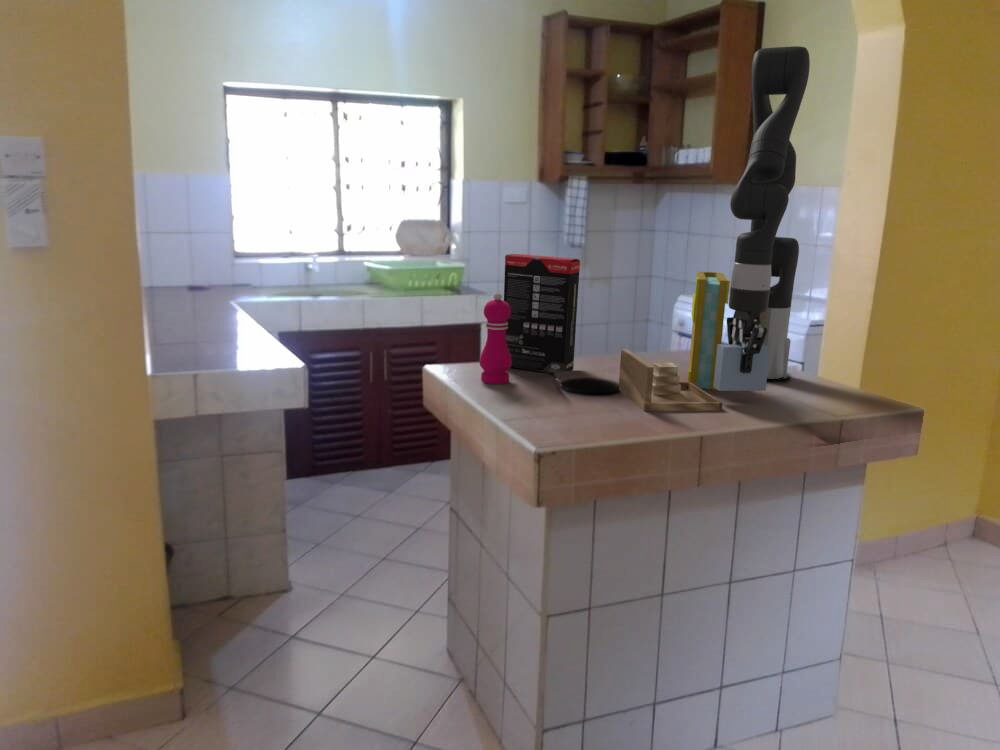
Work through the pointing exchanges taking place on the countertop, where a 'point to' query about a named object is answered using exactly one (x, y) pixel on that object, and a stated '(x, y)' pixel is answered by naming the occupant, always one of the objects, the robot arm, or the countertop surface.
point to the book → (707, 326)
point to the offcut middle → (665, 380)
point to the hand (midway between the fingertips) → (741, 370)
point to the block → (730, 373)
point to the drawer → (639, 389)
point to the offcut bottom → (666, 389)
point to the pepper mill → (496, 342)
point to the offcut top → (665, 369)
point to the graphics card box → (541, 311)
